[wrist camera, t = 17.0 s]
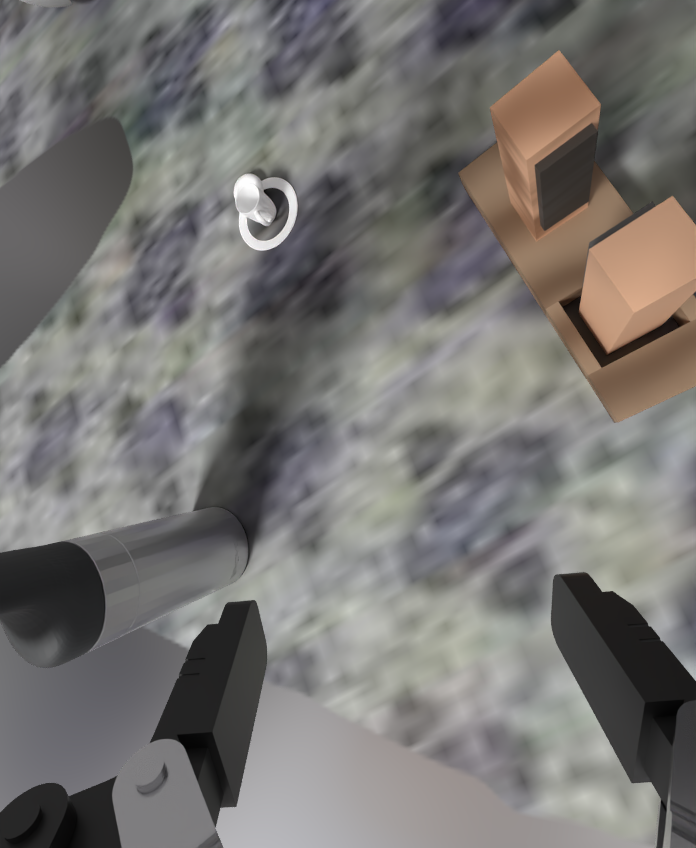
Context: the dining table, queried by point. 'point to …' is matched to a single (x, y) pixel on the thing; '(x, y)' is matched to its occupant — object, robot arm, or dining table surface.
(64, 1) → the decorative bowl
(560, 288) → the rail
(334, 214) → the dining table surface
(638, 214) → the tall tan pillar block
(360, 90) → the dining table surface
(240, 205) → the teacup and saucer
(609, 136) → the dining table surface
